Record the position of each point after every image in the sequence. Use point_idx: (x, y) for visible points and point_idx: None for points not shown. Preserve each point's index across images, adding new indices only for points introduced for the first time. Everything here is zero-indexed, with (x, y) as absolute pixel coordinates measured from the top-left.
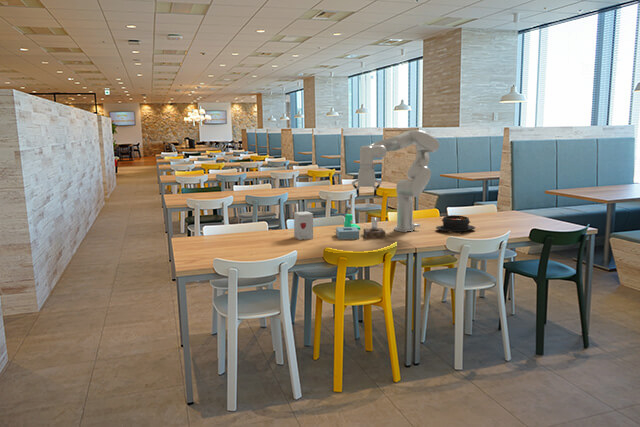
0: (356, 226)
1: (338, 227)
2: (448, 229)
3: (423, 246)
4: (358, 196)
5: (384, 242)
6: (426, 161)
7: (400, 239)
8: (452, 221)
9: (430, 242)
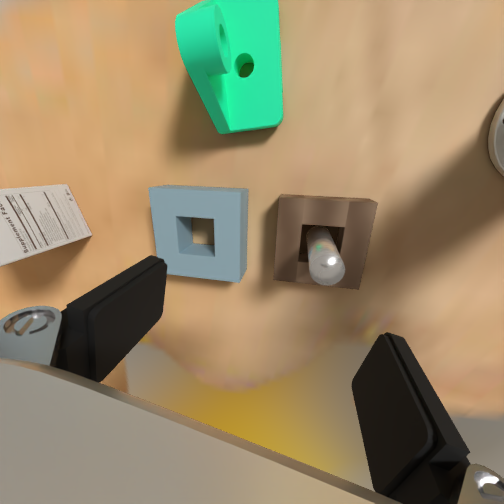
0: (264, 89)
1: (157, 192)
2: None
3: None
4: (159, 312)
5: (321, 334)
6: None
7: (404, 312)
8: None
9: (499, 376)
